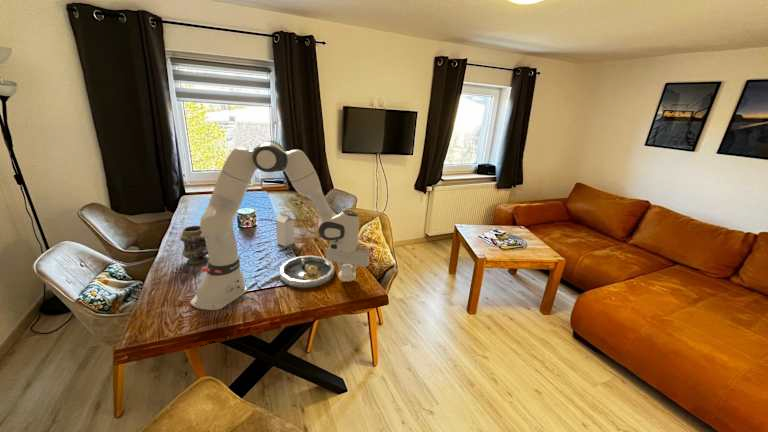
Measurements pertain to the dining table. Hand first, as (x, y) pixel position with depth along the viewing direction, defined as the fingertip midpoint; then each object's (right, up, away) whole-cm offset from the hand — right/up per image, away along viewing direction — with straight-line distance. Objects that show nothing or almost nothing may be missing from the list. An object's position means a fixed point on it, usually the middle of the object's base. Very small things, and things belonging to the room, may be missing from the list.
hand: (347, 271), depth 145 cm
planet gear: (0, -3, +1) cm, 3 cm away
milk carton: (-41, +10, +36) cm, 55 cm away
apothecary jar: (-77, +3, +10) cm, 78 cm away
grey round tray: (-20, -2, +6) cm, 21 cm away
